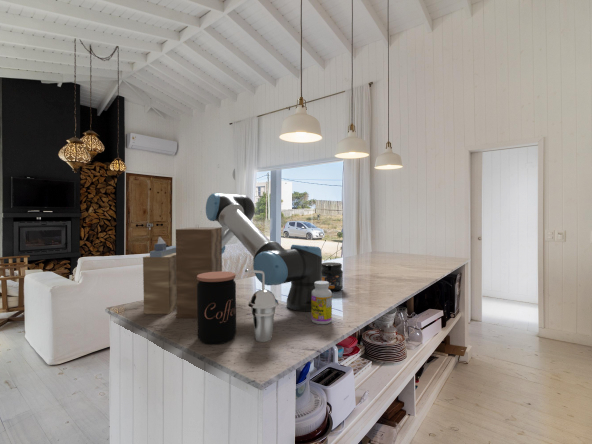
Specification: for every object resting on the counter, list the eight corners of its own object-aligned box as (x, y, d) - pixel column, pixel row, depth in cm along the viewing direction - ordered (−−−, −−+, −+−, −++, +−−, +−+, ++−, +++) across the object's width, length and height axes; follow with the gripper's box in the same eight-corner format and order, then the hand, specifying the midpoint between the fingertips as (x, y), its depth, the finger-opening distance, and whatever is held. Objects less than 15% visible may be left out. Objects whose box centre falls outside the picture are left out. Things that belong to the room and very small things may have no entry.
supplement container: (315, 290, 147) (315, 264, 147) (327, 286, 156) (326, 261, 156) (336, 293, 141) (336, 266, 141) (346, 288, 150) (346, 263, 150)
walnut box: (190, 305, 123) (189, 227, 123) (222, 305, 123) (222, 227, 122) (176, 317, 109) (174, 229, 108) (212, 318, 109) (211, 229, 108)
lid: (172, 250, 133) (172, 240, 133) (182, 250, 133) (182, 239, 133) (149, 257, 114) (149, 244, 113) (161, 257, 113) (161, 244, 113)
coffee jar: (201, 348, 84) (200, 280, 84) (194, 334, 94) (193, 273, 93) (241, 340, 89) (240, 276, 89) (230, 328, 99) (229, 270, 98)
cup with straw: (279, 344, 87) (278, 270, 86) (245, 345, 86) (244, 270, 86) (278, 332, 95) (277, 265, 95) (247, 333, 95) (246, 265, 94)
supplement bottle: (307, 321, 105) (307, 282, 105) (319, 316, 110) (319, 279, 110) (323, 326, 100) (323, 285, 100) (335, 321, 105) (335, 282, 105)
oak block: (160, 302, 127) (159, 252, 127) (183, 303, 127) (182, 252, 127) (143, 313, 114) (143, 257, 113) (169, 313, 114) (168, 257, 113)
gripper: (216, 266, 149) (204, 248, 131) (162, 266, 149) (143, 248, 131) (218, 251, 153) (207, 231, 134) (165, 251, 153) (147, 231, 134)
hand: (175, 239), depth 132 cm, fingers open, 13 cm apart
